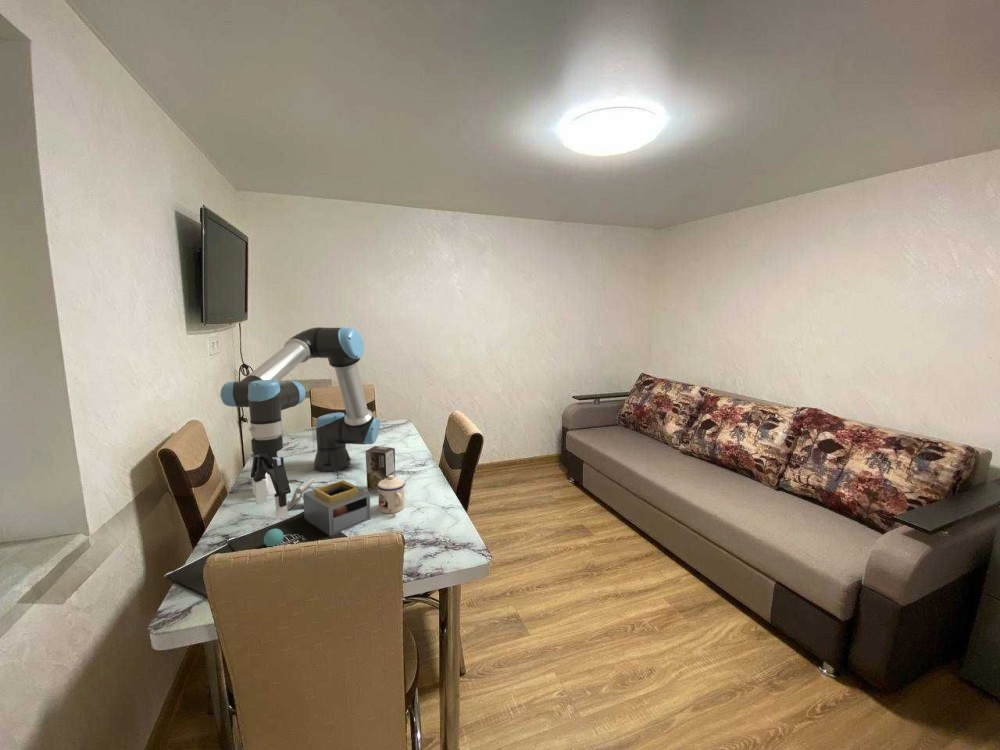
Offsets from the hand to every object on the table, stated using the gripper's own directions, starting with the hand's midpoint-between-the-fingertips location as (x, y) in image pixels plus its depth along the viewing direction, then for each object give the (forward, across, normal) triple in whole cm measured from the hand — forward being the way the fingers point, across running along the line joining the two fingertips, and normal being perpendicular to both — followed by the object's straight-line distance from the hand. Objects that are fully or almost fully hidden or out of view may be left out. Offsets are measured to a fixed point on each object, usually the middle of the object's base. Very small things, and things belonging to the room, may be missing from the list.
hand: (271, 509), depth 116 cm
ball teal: (+11, 0, 0) cm, 11 cm away
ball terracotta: (+10, -1, +20) cm, 22 cm away
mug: (+11, -39, +13) cm, 43 cm away
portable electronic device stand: (+11, -20, +17) cm, 29 cm away
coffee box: (+11, -10, +43) cm, 46 cm away
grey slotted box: (+11, -1, +20) cm, 23 cm away
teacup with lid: (+11, +7, +36) cm, 39 cm away
